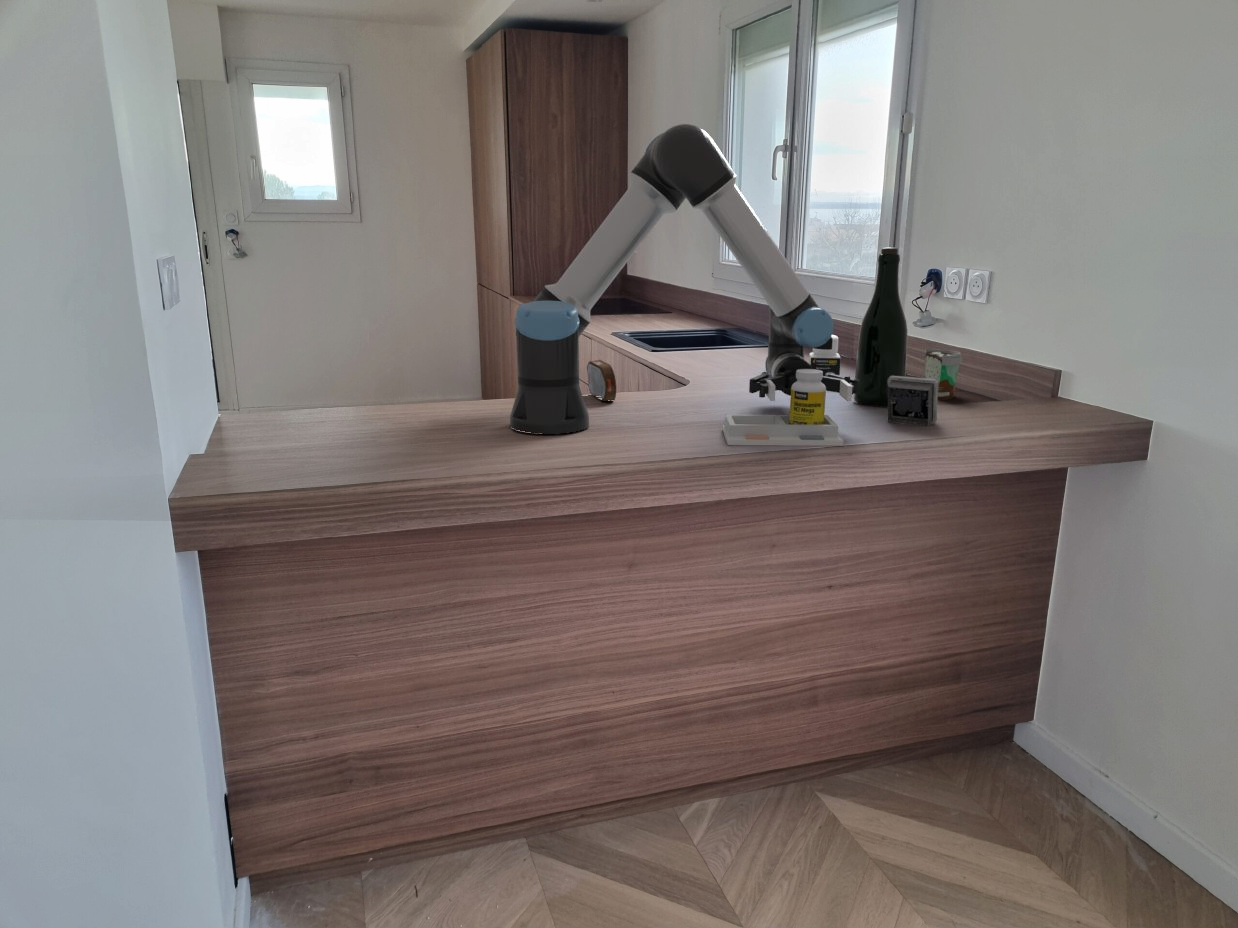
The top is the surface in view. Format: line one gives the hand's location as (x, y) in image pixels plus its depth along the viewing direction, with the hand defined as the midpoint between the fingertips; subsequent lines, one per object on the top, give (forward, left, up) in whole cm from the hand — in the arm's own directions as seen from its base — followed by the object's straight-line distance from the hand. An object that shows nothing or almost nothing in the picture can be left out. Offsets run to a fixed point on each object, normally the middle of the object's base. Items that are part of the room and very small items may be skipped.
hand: (811, 393), depth 150 cm
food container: (+38, +45, -9) cm, 60 cm away
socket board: (-5, +2, -8) cm, 10 cm away
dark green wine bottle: (+21, +36, -9) cm, 43 cm away
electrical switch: (+22, +15, -9) cm, 28 cm away
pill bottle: (0, +3, -8) cm, 8 cm away
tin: (-40, +40, -9) cm, 57 cm away
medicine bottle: (+14, +62, -9) cm, 64 cm away
